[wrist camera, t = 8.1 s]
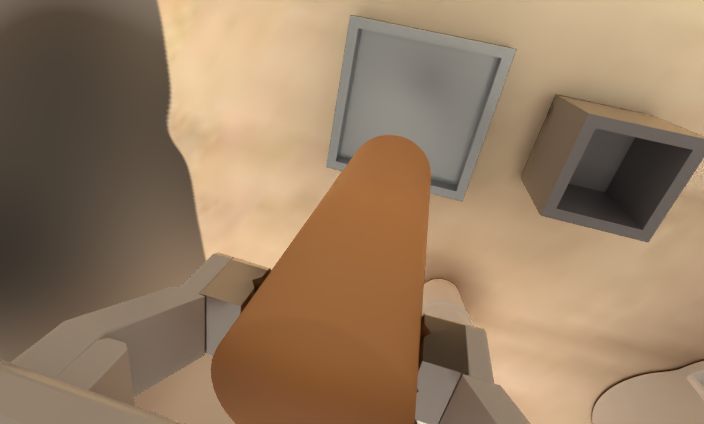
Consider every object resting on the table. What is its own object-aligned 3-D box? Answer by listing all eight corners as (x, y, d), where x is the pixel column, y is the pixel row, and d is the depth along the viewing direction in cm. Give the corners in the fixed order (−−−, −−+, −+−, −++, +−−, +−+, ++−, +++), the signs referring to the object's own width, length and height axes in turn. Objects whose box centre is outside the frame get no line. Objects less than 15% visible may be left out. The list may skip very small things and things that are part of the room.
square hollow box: (651, 115, 31) (714, 140, 23) (605, 198, 34) (648, 242, 27) (555, 94, 31) (588, 113, 24) (520, 177, 35) (540, 215, 28)
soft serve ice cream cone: (458, 251, 40) (466, 375, 25) (491, 310, 42) (516, 454, 28) (388, 278, 43) (362, 400, 29) (423, 331, 45) (414, 469, 31)
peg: (441, 146, 18) (443, 359, 6) (418, 220, 19) (386, 492, 8) (358, 126, 18) (213, 289, 6) (343, 200, 20) (209, 431, 8)
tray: (511, 47, 31) (516, 49, 28) (461, 191, 37) (462, 201, 34) (356, 15, 32) (350, 15, 30) (333, 159, 38) (326, 167, 36)
